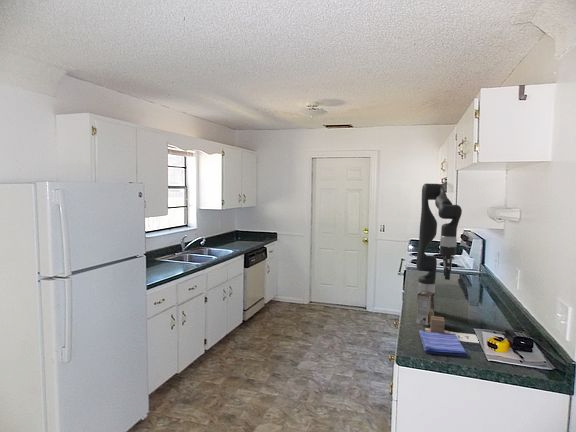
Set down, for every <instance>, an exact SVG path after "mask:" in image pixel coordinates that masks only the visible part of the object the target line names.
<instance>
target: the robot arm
mask: <svg viewBox="0 0 576 432" xmlns="http://www.w3.org/2000/svg"><path fill="white" fill-rule="evenodd" d="M429 200H430V201H434V203H435V207H436V208H437V210H438V211H437V215H438V217H439V218H440V219H443V220H444V219H445V220H451V221H450V222H448V223H443V224H441V227H440V228H441V229H440V230H441V231H440V239H439V254H440V255H442V256H443V257H442V265H443V276H444V280H446V281H447V280H448V281H450V279H451V272H452V266H453V265H452V263H453V258H452V257H454V256H456V255H457V245H458V244H457V242H458V241H457V233H458V232H457V231H458V226H459V222H460V220H461V217H462V212H463V210H462V207H461V206H460V205H459V204H453V202H452V201H451V200H450V199H449V198H448V196H447V193H446V191H445V188H444V186H443V185H442V184H441V183H423V185H422V187H421V213H420V215H421V216H420V221H419V223H420V224H419V234H418V235H419V236H418V246H417V247H418V248H417V253H416V254H417V255H416V261H415V262H416V270H417V271H418V272H419V271H420V272H428V273H426V274H424V275H421V276H419V277H418V283H417V284H418V285H417V294H418V293H420V292H422V291H428V292H432V293H435V294H436V291H435V290H436V280H437V279H436V277H437V264H438V263H437V257H436V256H435V255H425V252H426V251H427V248H428V246H430V243H432V241H433V240H434V239H435V237H436V235H437V230H438V221H437V219H436V218H435V216H434V214H433V212H432V211H431V208H430V206H429Z"/></svg>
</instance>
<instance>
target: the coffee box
mask: <svg viewBox="0 0 576 432" xmlns="http://www.w3.org/2000/svg"><path fill="white" fill-rule="evenodd" d="M435 295H436V292H435V293H432V292H428V291H422V292H420V293H418V292H417V301H416V302H417V303H416V324H417V325H424V326H427V327H428V326H430V324H431V316H435V298H436V297H435Z"/></svg>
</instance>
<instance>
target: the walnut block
mask: <svg viewBox="0 0 576 432" xmlns="http://www.w3.org/2000/svg"><path fill="white" fill-rule="evenodd" d="M445 325H446V320H445V318H444V317H443V316H436V315H434V316H431V324H430V325H429V326H430V327H429V329H430V331H431V332H433V333H444V330H445Z"/></svg>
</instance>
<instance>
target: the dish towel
mask: <svg viewBox="0 0 576 432" xmlns="http://www.w3.org/2000/svg"><path fill="white" fill-rule="evenodd" d="M418 332H419V337H420V340H421V343H422V346H423V350H424V352H426V354H428V353H429V354H432V355H445V356H454V357H467V356H468V353H467V351H466V349H465V347H464V346H463V344H462V343H461V341H459V340H458V338H457V336H456V334H450V332H449V333H433V332H427V331H425V330H421V329H419V331H418ZM429 354H428V355H429Z"/></svg>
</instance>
